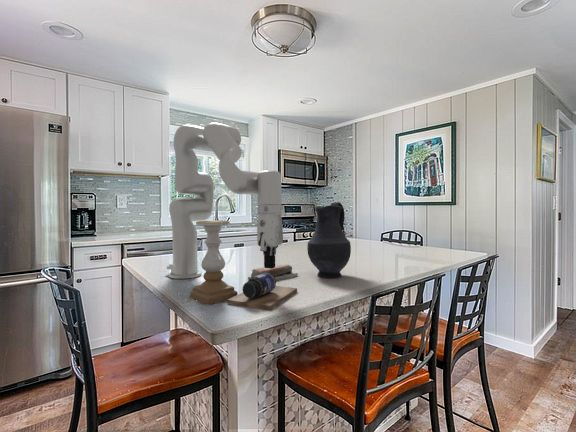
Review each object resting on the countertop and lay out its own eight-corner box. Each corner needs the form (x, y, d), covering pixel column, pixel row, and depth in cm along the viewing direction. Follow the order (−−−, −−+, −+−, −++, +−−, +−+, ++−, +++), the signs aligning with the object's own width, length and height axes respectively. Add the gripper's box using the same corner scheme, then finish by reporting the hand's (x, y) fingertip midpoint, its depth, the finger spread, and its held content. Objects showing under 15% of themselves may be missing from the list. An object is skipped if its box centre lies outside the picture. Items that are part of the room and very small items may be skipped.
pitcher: (299, 276, 128) (299, 202, 127) (324, 268, 145) (324, 202, 144) (339, 283, 119) (339, 201, 117) (360, 273, 136) (361, 202, 134)
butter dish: (263, 271, 118) (247, 267, 125) (263, 284, 118) (247, 280, 125) (298, 265, 130) (281, 262, 137) (298, 277, 130) (281, 273, 137)
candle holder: (219, 290, 108) (218, 220, 107) (238, 297, 100) (237, 221, 99) (188, 297, 100) (188, 221, 99) (207, 305, 93) (206, 222, 92)
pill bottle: (277, 291, 101) (259, 300, 92) (261, 291, 104) (241, 301, 94) (275, 271, 102) (256, 279, 92) (258, 272, 104) (238, 280, 95)
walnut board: (227, 303, 94) (227, 299, 94) (259, 287, 112) (259, 284, 112) (270, 310, 88) (270, 305, 88) (297, 291, 107) (297, 288, 107)
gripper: (269, 210, 93) (269, 273, 94) (289, 209, 107) (289, 264, 108) (247, 210, 96) (247, 271, 97) (269, 209, 110) (269, 262, 111)
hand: (269, 267), depth 102 cm, fingers closed
